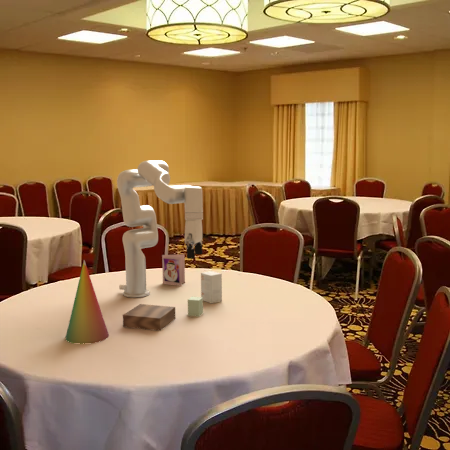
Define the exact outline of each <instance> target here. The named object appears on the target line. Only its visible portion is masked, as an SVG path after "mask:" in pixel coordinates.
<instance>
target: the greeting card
mask: <svg viewBox="0 0 450 450" xmlns="http://www.w3.org/2000/svg"><path fill="white" fill-rule="evenodd" d="M161 257H162V258H161V259H162V261H161V262H162V267H161V268H162V284H164V285H169V286H171V285H172V286H179V287H182V285H183V284H185V283H186V271H185V270H186V269H185V268H186V267H185V266H186V264H185V260H186V259H185V253H183V254H162V255H161Z"/></svg>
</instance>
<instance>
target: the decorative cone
mask: <svg viewBox="0 0 450 450" xmlns="http://www.w3.org/2000/svg"><path fill="white" fill-rule="evenodd" d="M81 267H82V268H81V271H80V275H79V279H78V285H77V288H76V292H75V297H74V301H73V304H72V309H71V314H70V317H69V321H68V326H67V330H66V335H65V338H66V339H65V341H66V340H67V341H66V342H68V341H69V342H68V343H70V342H71V343H70V344H74V343H80V344H79V345H86V344H85V343H91V344H96V343H95V342H97V343H99V341H100V342H103V341H105V340H106V338H107V339H108V338H109V336H110V335H109V330H108V328H107V325H106V321H105V319H104V316H103V313H102V310H101V306H100V303H99V300H98V297H97V295H96V291H95V289H94V285H93V282H92V280H91V276H90V273H89V270H88V267H87V264H86V261H85V259H83V263H82V266H81ZM83 343H84V344H83Z"/></svg>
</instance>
